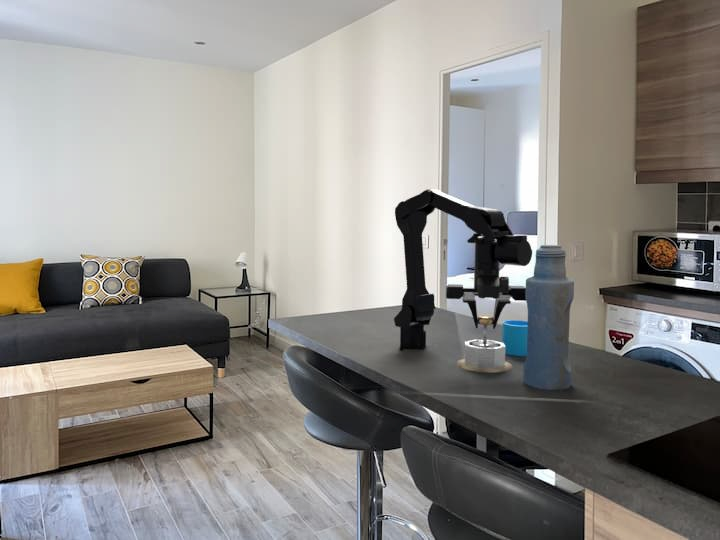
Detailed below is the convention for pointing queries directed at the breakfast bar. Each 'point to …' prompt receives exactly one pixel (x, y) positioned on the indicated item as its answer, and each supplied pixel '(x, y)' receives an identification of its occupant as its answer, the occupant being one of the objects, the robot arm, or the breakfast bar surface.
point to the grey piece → (484, 356)
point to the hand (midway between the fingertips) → (485, 328)
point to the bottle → (548, 321)
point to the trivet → (462, 365)
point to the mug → (515, 337)
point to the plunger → (485, 333)
